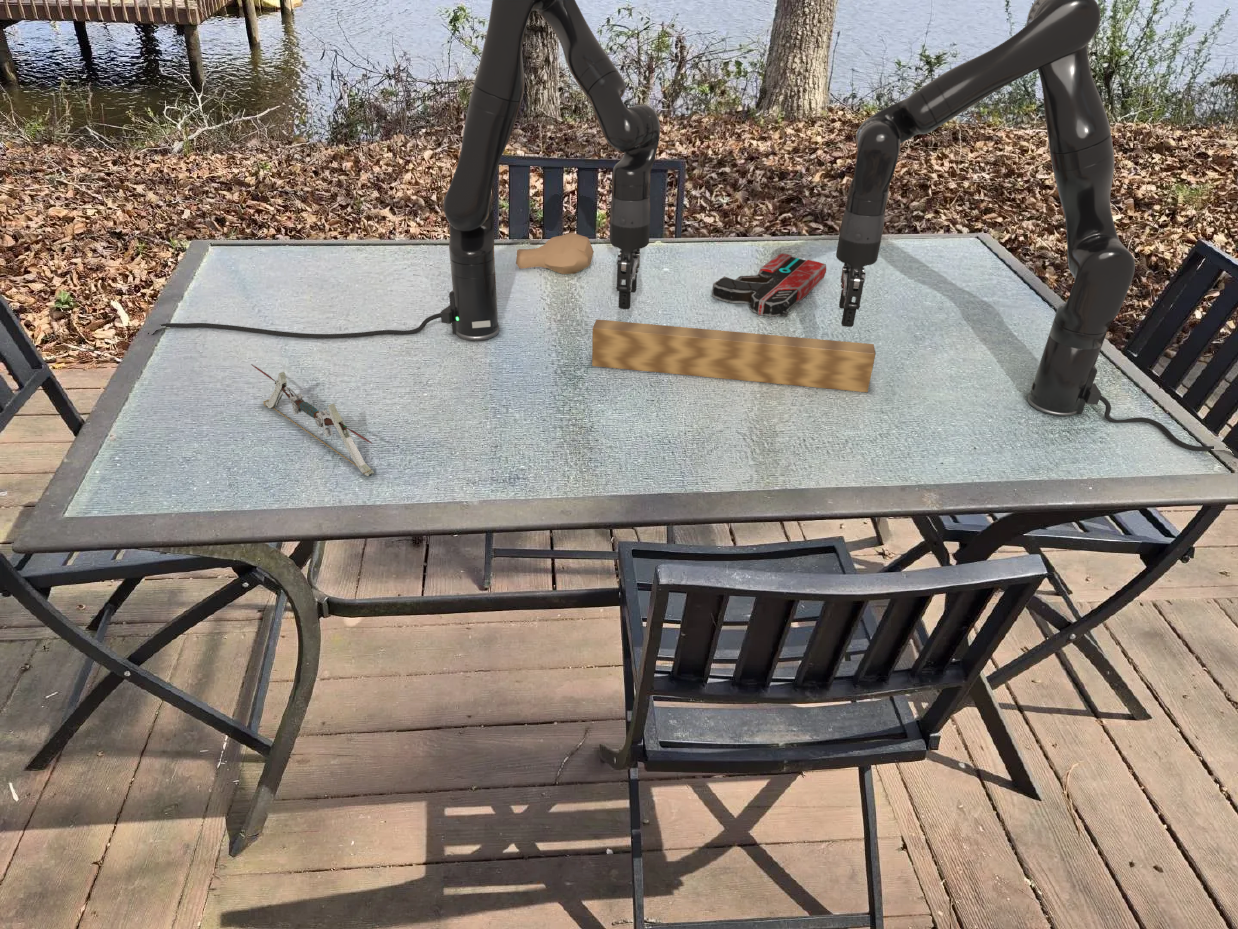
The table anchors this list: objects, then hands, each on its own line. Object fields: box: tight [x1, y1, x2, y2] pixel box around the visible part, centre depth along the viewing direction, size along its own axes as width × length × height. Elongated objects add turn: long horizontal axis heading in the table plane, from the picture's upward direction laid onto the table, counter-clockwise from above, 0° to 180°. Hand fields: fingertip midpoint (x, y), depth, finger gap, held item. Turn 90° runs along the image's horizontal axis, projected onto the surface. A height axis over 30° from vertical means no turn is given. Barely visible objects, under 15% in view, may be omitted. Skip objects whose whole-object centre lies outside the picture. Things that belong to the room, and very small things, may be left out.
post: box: [591, 318, 877, 393], centre depth 177 cm, size 56×4×9 cm, turn 81°
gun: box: [711, 252, 827, 318], centre depth 215 cm, size 4×31×19 cm
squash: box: [515, 232, 595, 275], centre depth 223 cm, size 11×20×9 cm, turn 90°
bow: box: [250, 363, 375, 477], centre depth 152 cm, size 39×2×10 cm, turn 47°
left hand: (627, 299), depth 174 cm, fingers open, 8 cm apart
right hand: (845, 316), depth 169 cm, fingers open, 8 cm apart
